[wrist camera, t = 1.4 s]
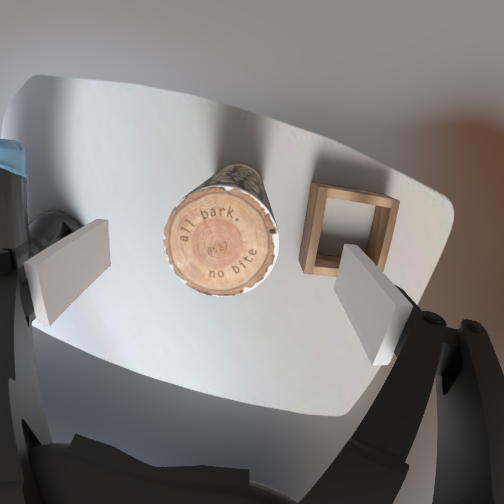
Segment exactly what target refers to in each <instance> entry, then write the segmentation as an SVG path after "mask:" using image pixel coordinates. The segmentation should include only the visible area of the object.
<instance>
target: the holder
mask: <svg viewBox="0 0 504 504" xmlns="http://www.w3.org/2000/svg"><path fill="white" fill-rule="evenodd" d="M327 197H328V198H335V199H341V200H348V201H354V202H360V203H366V204H371V205H376V208H375V214H374V218H373V223H372V228H371V233H370V237H369V242H368V246H367V250H366V255H367V256H368V257H369V258H370V259H371V260H372V261H373V262H374V263H375V264H376V265H377V267H378V268H379V269H380V270H381V271H382V272H383V271H384V267H385V263H386V260H387V256H388V252H389V248H390V244H391V240H392V236H393V231H394V227H395V222H396V218H397V213H398V208H399V203H400V201H399V200H396V199H394V198H392V197H389V196H387V195H384V194H379V193H374V192H368V191H363V190H357V189H352V188H346V187H340V186H334V185H328V184H321V183H315V182H311V186H310V193H309V200H308V206H307V213H306V219H305V225H304V231H303V237H302V243H301V249H300V255H299V262H300V265H301V267H302V270H303V272H304V274H312V275H323V276H335V277H337V274H338V270H339V265H340V261H341V257H337V256H327V255H317V249H318V244H319V238H320V233H321V227H322V222H323V216H324V210H325V204H326V198H327Z"/></svg>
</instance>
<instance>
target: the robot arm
mask: <svg viewBox="0 0 504 504" xmlns="http://www.w3.org/2000/svg"><path fill="white" fill-rule="evenodd" d="M26 179H27V174H26V162H25V149H24V147H23V145H22V144H21V143H19V142H17V141H14V140H6V139H0V504H393V502H394V500H395V498H396V496H397V494H398V492H399V490H400V488H401V486H402V484H403V482H404V480H405V477H406V475H407V472H408V470H409V465H408V464H406V463H405V461H406V458H407V456H408V454H409V451H410V449H411V447H412V444H413V442H414V439H415V437H416V434H417V432H418V429H419V426H420V423H421V421H422V418H423V415H424V412H425V409H426V406H427V403H428V400H429V396H430V393H431V390H432V386H433V383H434V379H435V376H436V389H437V413H438V440H437V441H438V442H437V464H436V477H435V486H434V495H433V502H432V504H504V375H503V372H502V369H501V366H500V364H499V361H498V358H497V356H496V353H495V351H494V348H493V346H492V343H491V341H490V338H489V336H488V334H487V331H486V330H485V328H484V327H483V326H482V325H481V324H480V323H479V322H477V321H473V320H468V319H465V320H462V321H461V324H460V326H459V328H458V329H453V328H448V327H446V326H447V325H446V322H445V320H444V319H443V318H442V317H441V316H439V315H437V314H435V313H432V312H429V311H422V310H421V309H420V308H419V307H418V306H417V305H416V304H415V302H414V301H412V299H411V298H410V297H409V296H408V295H407V294H406V292H405V291H404V290H403V289H401V288H399V287H398V286H396V285H394V284H393V283H392V282H391V281H390V279H389V278H388V277H387V276H386V275H385V274H384V273H383V272H382V271H381V270H380V269H379V268H378V267H377V265H376V264H375V263H374V262H373V261H372V260H371V259H370V258H369V257H368V256H367V255H366V254H365V253H364V252H363V251H362V250H361V249H360V248H359V247H358V246H357V245H352V244H344V247H343V252H342V257H341V261H340V265H339V270H338V274H337V278H336V282H335V287H334V290H335V292H336V294H337V296H338V298H339V300H340V301H341V303H342V305H343V307H344V309H345V311H346V313H347V315H348V317H349V319H350V321H351V323H352V325H353V327H354V329H355V331H356V333H357V335H358V337H359V339H360V341H361V343H362V345H363V347H364V349H365V351H366V353H367V356H368V358H369V360H370V362H371V364H372V366H373V365H389V363H390V360H391V358H392V356H393V354H394V353H395V355H396V357H397V360H396V362H395V364H394V366H393V368H392V370H391V372H390V374H389V375H388V377H387V379H386V381H385V383H384V385H383V387H382V388H381V390H380V392H379V394H378V395H377V397H376V399H375V400H374V402H373V404H372V406H371V407H370V409H369V411H368V412H367V414H366V416H365V417H364V419H363V420H362V422H361V423H360V425H359V426H358V428H357V429H356V431H355V432H354V434H353V435H352V437H351V438H350V439H349V441H348V442H347V443H346V445H345V446H344V447H343V449H342V450H341V452H340V453H339V454H338V456H337V457H336V458H335V460H334V461H333V463H332V464H331V465H330V466H329V468H328V469H327V470H326V471H325V473H324V474H323V475H322V477H321V478H320V479H319V480H318V481H317V483H316V484H315V485H314V486H313V487H312V488H311V490H310V491H309V492H308V493H307V494H306V495H305V497H304V498H303V499H302V500H301V501H300V502H299V503H296V502H295V501H294V500H293V499H291V498H290V497H288V496H287V495H285V494H283V493H282V492H280V491H278V490H276V489H274V488H271V487H269V486H267V485H264V484H261V483H258V482H254V481H250V480H249V469H235V468H223V467H213V466H204V465H201V466H182V467H154V466H150V465H148V464H145V463H144V462H142V461H140V460H138V459H135V458H134V457H132V456H130V455H128V454H126V453H124V452H122V451H120V450H119V449H117V448H115V447H113V446H111V445H107V444H104V443H101V442H98V441H95V440H92V439H89V438H86V437H83V436H81V435H78V434H75V436H74V438H73V440H72V442H71V443H53V442H52V438H51V435H50V432H49V428H48V424H47V420H46V416H45V412H44V407H43V403H42V398H41V393H40V388H39V382H38V376H37V370H36V363H35V355H34V346H33V336H32V321H33V320H34V319H35V318H36V319H37V322H38V323H41V324H44V325H48V326H51V324H52V323H53V322H54V321H55V320H56V319H57V318H58V317H59V316H60V315H61V314H62V313H63V312H64V311H65V310H66V309H67V308H68V307H69V306H70V305H71V303H72V302H73V301H74V300H75V299H76V298H77V297H78V296H79V295H80V294H81V293H82V292H83V291H84V290H85V289H86V288H87V287H88V286H89V285H90V284H91V283H93V282H94V281H95V280H96V279H97V278H98V277H99V276H100V275H101V274H102V273H103V272H104V271H105V270H106V269H107V268H108V267H109V266H110V265H111V263H110V249H109V230H108V220H102V219H96V220H94V221H93V222H91V223H89V224H87V225H85V226H84V227H81V225H80V224H79V223H78V222H77V221H76V220H75V219H74V218H73V217H71V216H70V215H68V214H66V213H64V212H61V211H49V212H46V213H44V214H41V215H39V216H38V217H36V218H35V219H34V220H33V221H32V222H31V223H30V225H29V226H28V214H27V196H26Z"/></svg>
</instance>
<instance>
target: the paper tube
mask: <svg viewBox="0 0 504 504" xmlns="http://www.w3.org/2000/svg"><path fill="white" fill-rule="evenodd" d="M163 241H164V250H165V254H166V257H167V260H168V262H169V265H170V266H171V268H172V270H173V271H174V273H175V274H176V275H177V276H178V277H179V278H180V279H181V280H182V281H183V282H184V283H185V284H186V285H188V286H189V287H191V288H193V289H194V290H196V291H198V292H201V293H204V294H207V295H211V296H219V297H227V296H235V295H239V294H242V293H245V292H247V291H249V290H251V289H253V288H254V287H256V286H257V285H259V284H260V283H261V282H262V281H263V280H264V279H265V278H266V277H267V276H268V274H269V273H270V272H271V270H272V268H273V266H274V264H275V262H276V259H277V255H278V250H279V236H278V229H277V225H276V222H275V219H274V216H273V213H272V209H271V206H270V203H269V200H268V197H267V194H266V191H265V188H264V185H263V182H262V179H261V177H260V175H259V174H258V172H257V171H256V170H255V169H253V168H252V167H250V166H248V165H246V164H240V163H237V164H231V165H228V166H226V167H225V168H223V169H222V170H220V171H219V172H217V173H216V174H215V175H213V176H212V177H211V178H209V179H208V180H206V181H205V182H204V183H202V184H201V185H200V186H198V187H197V188H196V189H194V190H193V191H192V192H190V193H189V194H188V195H186V196H185V197H184V198H183V199H182V200H181V201H180V202H179V203H178V204H177V205H176V206H175V208H174V209H173V210H172V212H171V214H170V215H169V217H168V220H167V222H166V225H165V229H164V237H163Z"/></svg>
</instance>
